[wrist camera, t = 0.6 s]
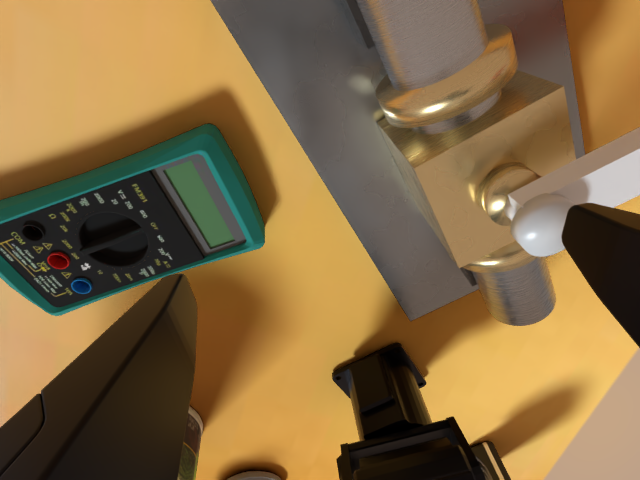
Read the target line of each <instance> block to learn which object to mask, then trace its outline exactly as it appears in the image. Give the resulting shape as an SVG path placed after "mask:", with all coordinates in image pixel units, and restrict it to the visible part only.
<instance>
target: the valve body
mask: <svg viewBox="0 0 640 480" xmlns="http://www.w3.org/2000/svg"><path fill="white" fill-rule="evenodd" d="M211 2H212V3H213V5H214V7H215V8H216V10H217V12H218V13H219V15H220V16H221V18H222V20H223V21H224V23H225V24H226V26H227V28H228V29H229V31H230V32H231V34H232V36H233V37H234V39H235V40H236V42H237V44H238V45H239V47H240V48H241V50H242V52H243V53H244V55H245V56H246V58H247V60H248V61H249V63H250V64H251V66H252V68H253V69H254V71H255V73H256V74H257V76H258V77H259V79H260V81H261V82H262V84H263V85H264V87H265V89H266V90H267V92H268V93H269V95H270V97H271V98H272V100H273V101H274V103H275V105H276V106H277V108H278V109H279V111H280V113H281V114H282V116H283V117H284V119H285V121H286V122H287V124H288V126H289V127H290V129H291V130H292V132H293V134H294V135H295V137H296V138H297V140H298V142H299V143H300V145H301V146H302V148H303V150H304V151H305V153H306V154H307V156H308V158H309V159H310V161H311V162H312V164H313V166H314V167H315V169H316V170H317V172H318V174H319V175H320V177H321V179H322V180H323V182H324V183H325V185H326V187H327V188H328V190H329V191H330V193H331V195H332V196H333V198H334V199H335V201H336V203H337V204H338V206H339V207H340V209H341V211H342V212H343V214H344V215H345V217H346V219H347V220H348V222H349V223H350V225H351V227H352V228H353V230H354V231H355V233H356V235H357V236H358V238H359V240H360V241H361V243H362V244H363V246H364V248H365V249H366V251H367V252H368V254H369V256H370V257H371V259H372V260H373V262H374V264H375V265H376V267H377V268H378V270H379V272H380V273H381V275H382V276H383V278H384V280H385V281H386V283H387V284H388V286H389V288H390V289H391V291H392V293H393V294H394V296H395V297H396V299H397V301H398V302H399V304H400V305H401V307H402V309H403V310H404V312H405V313H406V315H407V317H408V318H409V320H410V321H412V320H414V319H416V318H419V317H421V316H423V315H425V314H427V313H429V312H431V311H433V310H435V309H438V308H440V307H442V306H444V305H446V304H448V303H450V302H452V301H455V300H457V299H459V298H461V297H463V296H465V295H467V294H469V293H471V292H474V291H476V290H478V289H479V290H480V292H481V294H482V297H483V299H484V301H485V304H486V306H487V308H488V311H489V312H490V314H491V315H492V316H493V317H494V318H495V319H497V320H498V321H500V322H502V323H505V324H508V325H514V326H525V325H530V324H534V323H536V322H539V321H541V320H543V319H544V318H545V317H547V316H548V315H549V314H550V313H551V311H552V310H553V308H554V306H555V302H556V296H555V291H554V288H553V284H552V280H551V276H550V272H549V269H548V265H547V261H546V257H548V256H544V257H538V256H533V255H531V254H529V253H528V252H527V251H526V250H525V249H524V248H523V247H522V246H521V245H520V244H519V243H518V242H517V241H516V240H515V239H514V238H513V236H512V234H511V229H510V227H511V222H512V221H511V220H510V219H509V218H508V217H507V216H506V214H505V211H504V207H505V204H506V201H507V200H508V198H509V197H508V194H510V193H512V192H514V191H516V190H517V189H519V188H521V187H523V186H525V185H527V184H529V183H531V182H533V181H535V180H537V179H539V178H541V177H543V176H545V175H547V174H549V173H551V172H553V171H555V170H557V169H558V168H560V167H562V166H564V165H566V164H568V163H570V162H572V161H574V160H576V159H578V158H580V157H582V156H584V155H585V150H584V143H583V136H582V130H581V123H580V116H579V110H578V103H577V96H576V89H575V83H574V76H573V69H572V62H571V56H570V49H569V42H568V36H567V29H566V22H565V15H564V9H563V2H562V0H211ZM549 256H550V255H549Z"/></svg>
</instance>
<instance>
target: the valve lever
mask: <svg viewBox="0 0 640 480" xmlns="http://www.w3.org/2000/svg"><path fill="white" fill-rule="evenodd" d="M639 195H640V127H638V128H637V129H635V130H633V131H631V132H629V133H627V134H625V135H623V136H621V137H619V138H617V139H615V140H613V141H611V142H609V143H607V144H605V145H603V146H601V147H599V148H597V149H596V150H594V151H592V152H590V153H588V154H586V155H584V156H582V157H580V158H578V159H576V160H574V161H572V162H570V163H568V164H566V165H564V166H562V167H560V168H558V169H557V170H555V171H553V172H551V173H549V174H547V175H545V176H543V177H541V178H539V179H537V180H535V181H533V182H531V183H529V184H527V185H525V186H523V187H521V188H519V189H517V190H516V191H514V192H512V193H510V194H508V197H509V198H508V200H507V201H506V204H505V207H504V211H505V214H506V216H507V217H508V218H509V219H510V220H511V221H512V222H511V227H510V229H511V234H512V236H513V238H514V239H515V240H516V241H517V242H518V243H519V244H520V245H521V246H522V247H523V248H524V249H525V250H526V251H527V252H528V253H529V254H531V255H533V256H538V257H544V256H549V255H553V254H556V253H558V252H560V251H562V250H564V249H565V247H564V245H563V243H562V239H561V235H562V231H563V227H564V223H565V220H566V216H567V212H568V210H569V208H570V207H572V206H573V205H578V204H583V203H595V204H599V205H603V206H607V207H611V208H614V207H616V206H618V205H620V204H622V203H624V202H626V201H628V200H630V199H632V198H634V197H636V196H639Z"/></svg>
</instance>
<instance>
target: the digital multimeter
mask: <svg viewBox="0 0 640 480" xmlns="http://www.w3.org/2000/svg"><path fill="white" fill-rule="evenodd" d="M146 171H147V172H146ZM143 172H144V173H143ZM140 173H141V174H140ZM132 176H133V177H132ZM129 177H130V178H129ZM126 178H127V179H126ZM121 180H122V181H121ZM118 181H119V182H118ZM115 182H116V183H115ZM110 184H111V185H110ZM107 185H108V186H107ZM104 186H105V187H104ZM96 189H97V190H96ZM93 190H94V191H93ZM90 191H91V192H90ZM85 193H86V194H85ZM82 194H83V195H82ZM79 195H80V196H79ZM74 197H75V198H74ZM71 198H72V199H71ZM68 199H69V200H68ZM60 202H61V203H60ZM57 203H58V204H57ZM54 204H55V205H54ZM49 206H50V207H49ZM46 207H47V208H46ZM43 208H44V209H43ZM40 209H41V210H40ZM38 210H39V211H38ZM35 211H36V212H35ZM32 212H33V213H32ZM29 213H30V214H29ZM24 215H25V216H24ZM21 216H22V217H21ZM18 217H19V218H18ZM15 218H16V219H15ZM81 218H82V219H81ZM13 219H14V220H13ZM80 219H81V220H80ZM10 220H11V221H10ZM7 221H8V222H7ZM4 222H5V223H4ZM2 223H3V224H2ZM77 223H78V224H77ZM264 243H265V226H264V222H263V220H262V217H261V214H260V211H259V209H258V206H257V203H256V201H255V198H254V196H253V194H252V191H251V189H250V186H249V184H248V182H247V180H246V178H245V176H244V174H243V172H242V170H241V168H240V166H239V164H238V162H237V160H236V159H235V157H234V155H233V153H232V151H231V150H230V148H229V146H228V145H227V143H226V141H225V139H224V138H223V136H222V134H221V133H220V131H219V129H218V128H217V127H216V126H215V125H212V124H204V125H202V126H200V127H197V128H195V129H193V130H190V131H188V132H186V133H183V134H181V135H178V136H176V137H174V138H171V139H169V140H167V141H164V142H162V143H160V144H157V145H155V146H153V147H150V148H148V149H145V150H143V151H141V152H138V153H136V154H133V155H131V156H128V157H125V158H123V159H120V160H117V161H115V162H112V163H110V164H107V165H104V166H102V167H99V168H97V169H94V170H91V171H89V172H86V173H83V174H81V175H78V176H75V177H71V178H68V179H65V180H62V181H59V182H56V183H53V184H50V185H47V186H44V187H41V188H38V189H35V190H32V191H29V192H26V193H23V194H19V195H16V196H13V197H10V198H6V199H3V200H0V277H1V278H2V279H3V280H4V281H5V282H6V283H7V284H8V285H9V286H10V287H12V288H13V289H14V290H16V291H17V292H18V293H20V294H21V295H22V296H24V297H25V298H26V299H28V300H29V301H31V302H32V303H34V304H35V305H37V306H38V307H40V308H42V309H43V310H44V311H46V312H47V313H49V314H51V315H55V316H59V315H63V314H65V313H68V312H70V311H73V310H75V309H78V308H80V307H83V306H85V305H88V304H90V303H93V302H95V301H98V300H101V299H103V298H106V297H109V296H111V295H114V294H117V293H120V292H122V291H125V290H128V289H130V288H133V287H136V286H138V285H141V284H144V283H147V282H150V281H153V280H156V279H159V278H162V277H165V276H168V275H171V274H175V273H178V272H181V271H184V270H187V269H190V268H193V267H196V266H200V265H203V264H207V263H210V262H214V261H217V260H221V259H224V258H228V257H231V256H235V255H238V254H242V253H245V252H249V251H252V250H256V249H259V248H261V247H262V246H263V245H264ZM144 260H145V261H144ZM140 263H141V264H140Z"/></svg>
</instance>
